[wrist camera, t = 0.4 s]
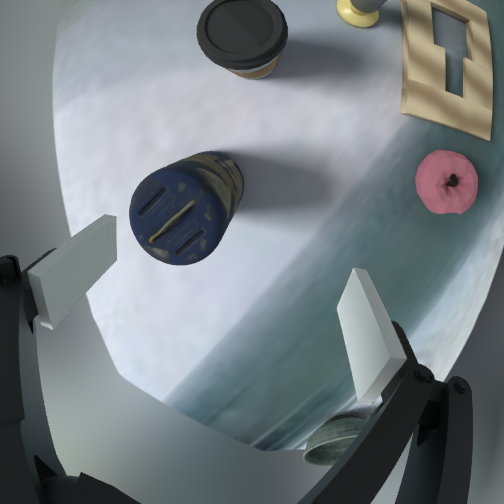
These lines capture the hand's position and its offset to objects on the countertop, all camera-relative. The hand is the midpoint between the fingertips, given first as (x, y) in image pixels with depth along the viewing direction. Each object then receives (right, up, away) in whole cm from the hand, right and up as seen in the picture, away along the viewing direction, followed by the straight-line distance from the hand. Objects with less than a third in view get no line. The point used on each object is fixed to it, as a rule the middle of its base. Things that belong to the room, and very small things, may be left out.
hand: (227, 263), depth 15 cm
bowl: (+25, -44, +49) cm, 70 cm away
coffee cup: (+1, +26, +17) cm, 31 cm away
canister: (-4, +10, +25) cm, 28 cm away
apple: (+28, +12, +21) cm, 37 cm away
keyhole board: (+31, +30, +12) cm, 45 cm away
